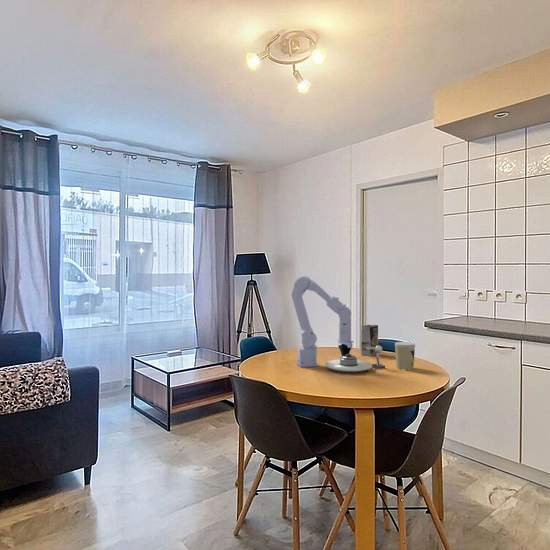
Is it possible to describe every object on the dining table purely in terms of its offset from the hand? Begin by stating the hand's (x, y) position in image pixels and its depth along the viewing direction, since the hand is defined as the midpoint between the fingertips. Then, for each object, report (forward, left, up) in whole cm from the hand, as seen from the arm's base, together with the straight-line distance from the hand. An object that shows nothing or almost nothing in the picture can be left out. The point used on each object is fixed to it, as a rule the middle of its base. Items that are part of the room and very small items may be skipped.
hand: (345, 360), depth 207 cm
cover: (0, -5, -1) cm, 5 cm away
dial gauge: (+13, -5, -3) cm, 14 cm away
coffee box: (+24, +25, -3) cm, 35 cm away
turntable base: (0, -5, -3) cm, 6 cm away
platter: (0, -5, -2) cm, 5 cm away
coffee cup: (+27, -9, -3) cm, 29 cm away
